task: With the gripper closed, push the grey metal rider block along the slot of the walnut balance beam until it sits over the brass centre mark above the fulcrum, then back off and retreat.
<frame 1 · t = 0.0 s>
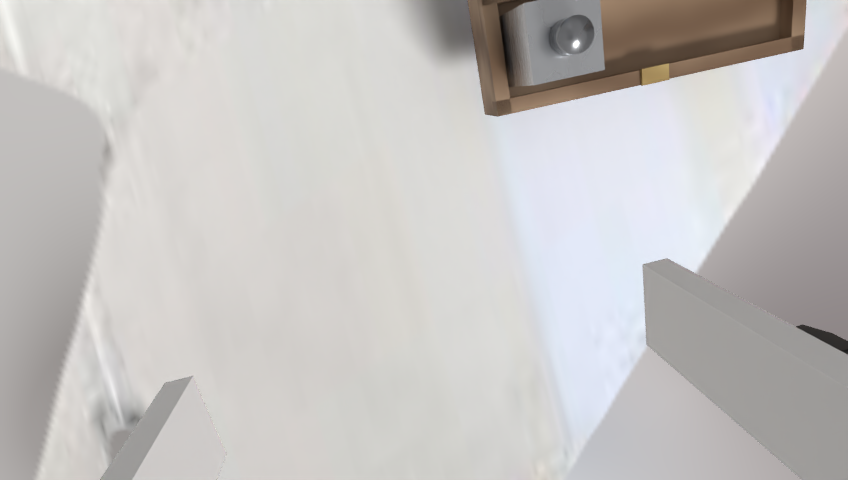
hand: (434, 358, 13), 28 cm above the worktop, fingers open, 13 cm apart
beam: (597, 34, 38), on the worktop
rider: (553, 40, 29), point 10 cm above the worktop, slide at -8.0 cm
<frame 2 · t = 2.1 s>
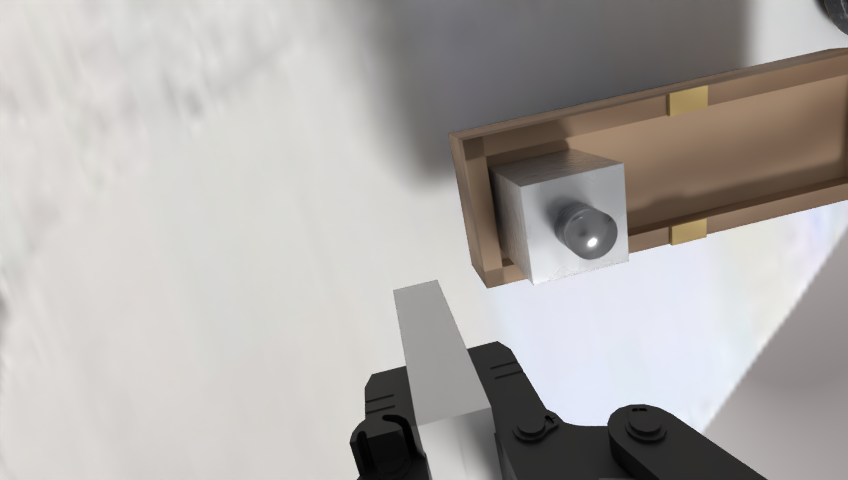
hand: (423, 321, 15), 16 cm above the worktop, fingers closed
beam: (612, 150, 31), on the worktop
rider: (560, 215, 21), point 10 cm above the worktop, slide at -8.0 cm
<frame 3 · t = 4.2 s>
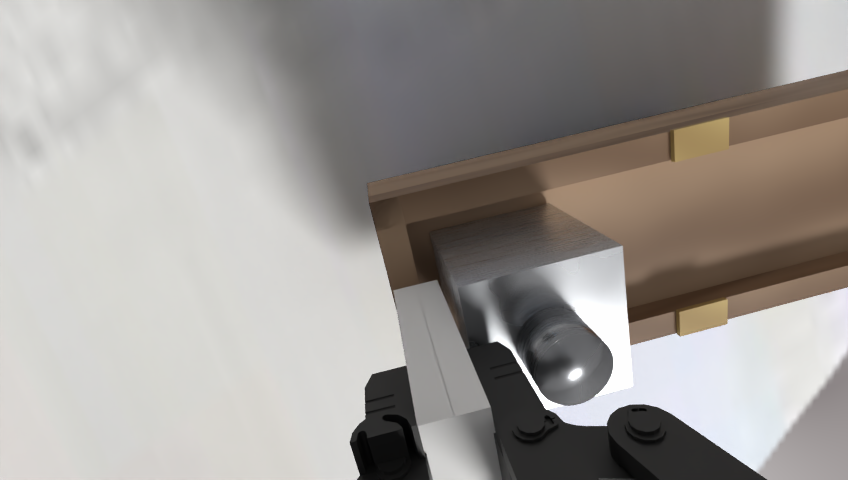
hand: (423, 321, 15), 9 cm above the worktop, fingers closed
beam: (599, 192, 24), on the worktop
rider: (529, 311, 14), point 10 cm above the worktop, slide at -7.4 cm, touching gripper
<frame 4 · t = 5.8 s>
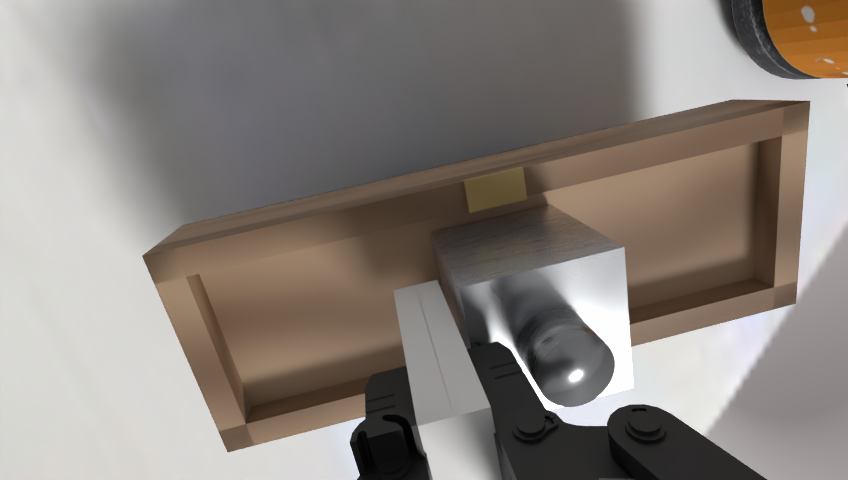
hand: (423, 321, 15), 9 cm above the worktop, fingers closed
beam: (464, 225, 24), on the worktop
rider: (530, 312, 14), point 10 cm above the worktop, slide at -0.1 cm, touching gripper
canister: (799, 6, 23), on the worktop
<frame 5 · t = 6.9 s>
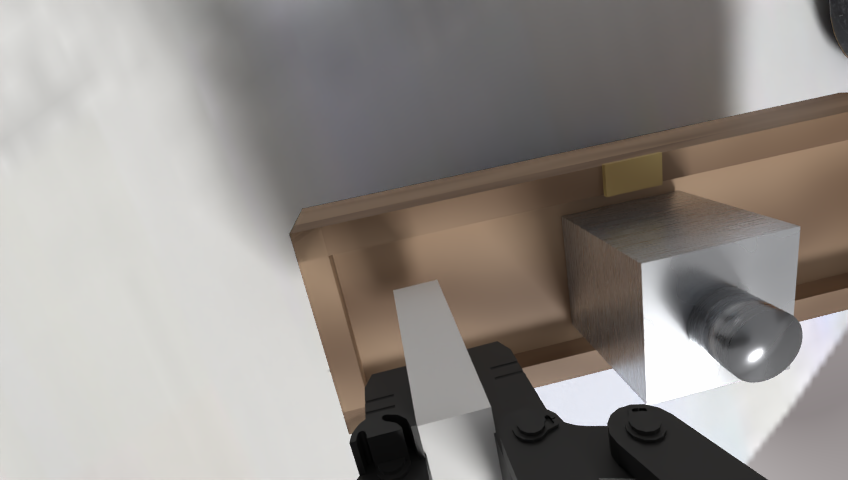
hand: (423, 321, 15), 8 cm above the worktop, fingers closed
beam: (553, 216, 24), on the worktop
rider: (679, 294, 14), point 10 cm above the worktop, slide at 0.1 cm
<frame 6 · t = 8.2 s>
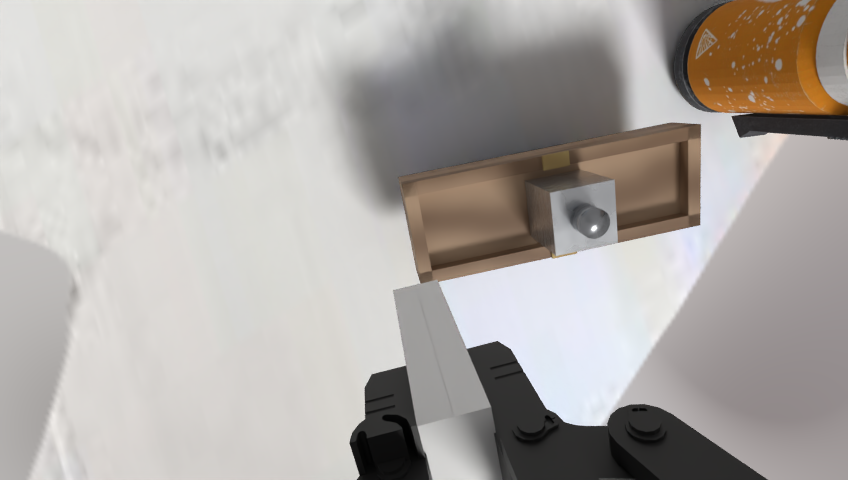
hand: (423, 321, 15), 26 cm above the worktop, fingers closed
beam: (526, 188, 42), on the worktop
rider: (573, 212, 33), point 10 cm above the worktop, slide at 0.1 cm
canister: (713, 72, 42), on the worktop
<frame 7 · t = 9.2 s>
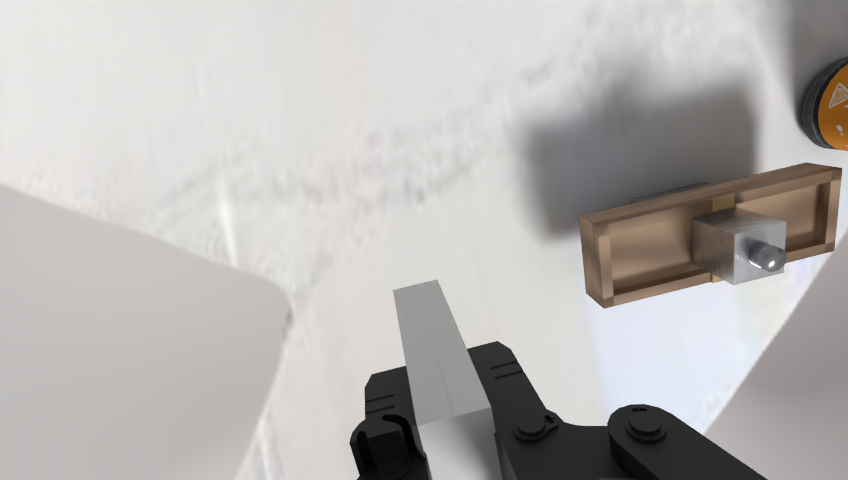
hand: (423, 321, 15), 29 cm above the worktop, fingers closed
beam: (668, 218, 49), on the worktop
rider: (742, 247, 39), point 10 cm above the worktop, slide at 0.1 cm
canister: (832, 114, 48), on the worktop
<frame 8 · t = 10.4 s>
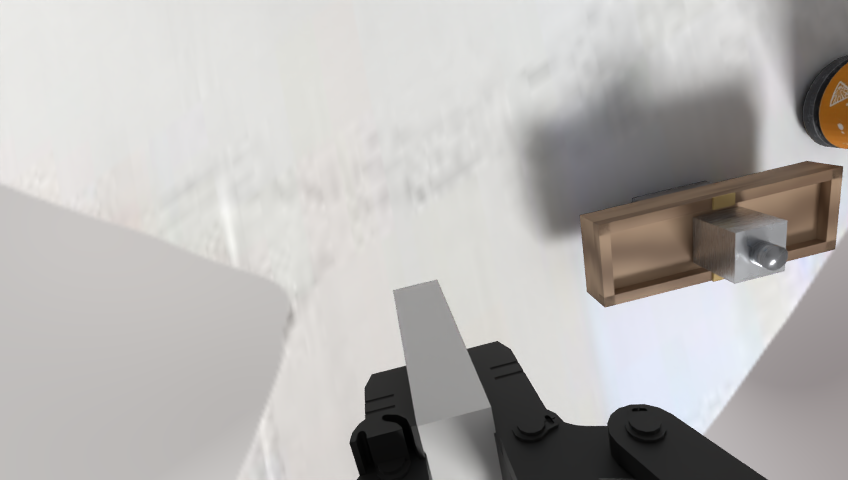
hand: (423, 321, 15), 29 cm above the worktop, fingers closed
beam: (669, 216, 49), on the worktop
rider: (743, 245, 39), point 10 cm above the worktop, slide at 0.1 cm
canister: (833, 112, 48), on the worktop
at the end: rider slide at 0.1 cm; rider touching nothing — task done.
